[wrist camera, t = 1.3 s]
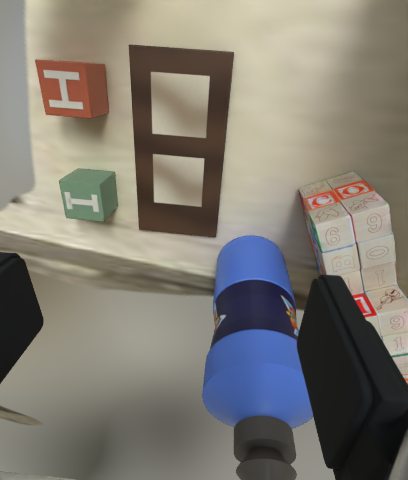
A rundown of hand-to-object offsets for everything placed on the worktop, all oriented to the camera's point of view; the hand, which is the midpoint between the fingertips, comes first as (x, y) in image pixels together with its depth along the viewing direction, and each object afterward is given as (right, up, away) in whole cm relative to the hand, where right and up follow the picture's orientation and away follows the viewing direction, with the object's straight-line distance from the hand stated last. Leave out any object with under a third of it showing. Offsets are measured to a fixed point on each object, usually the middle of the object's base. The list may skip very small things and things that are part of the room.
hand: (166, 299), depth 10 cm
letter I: (-12, +8, +26) cm, 30 cm away
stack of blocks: (+19, 0, +28) cm, 34 cm away
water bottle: (+8, -1, +30) cm, 31 cm away
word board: (-2, +12, +23) cm, 26 cm away
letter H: (-11, +18, +21) cm, 30 cm away
